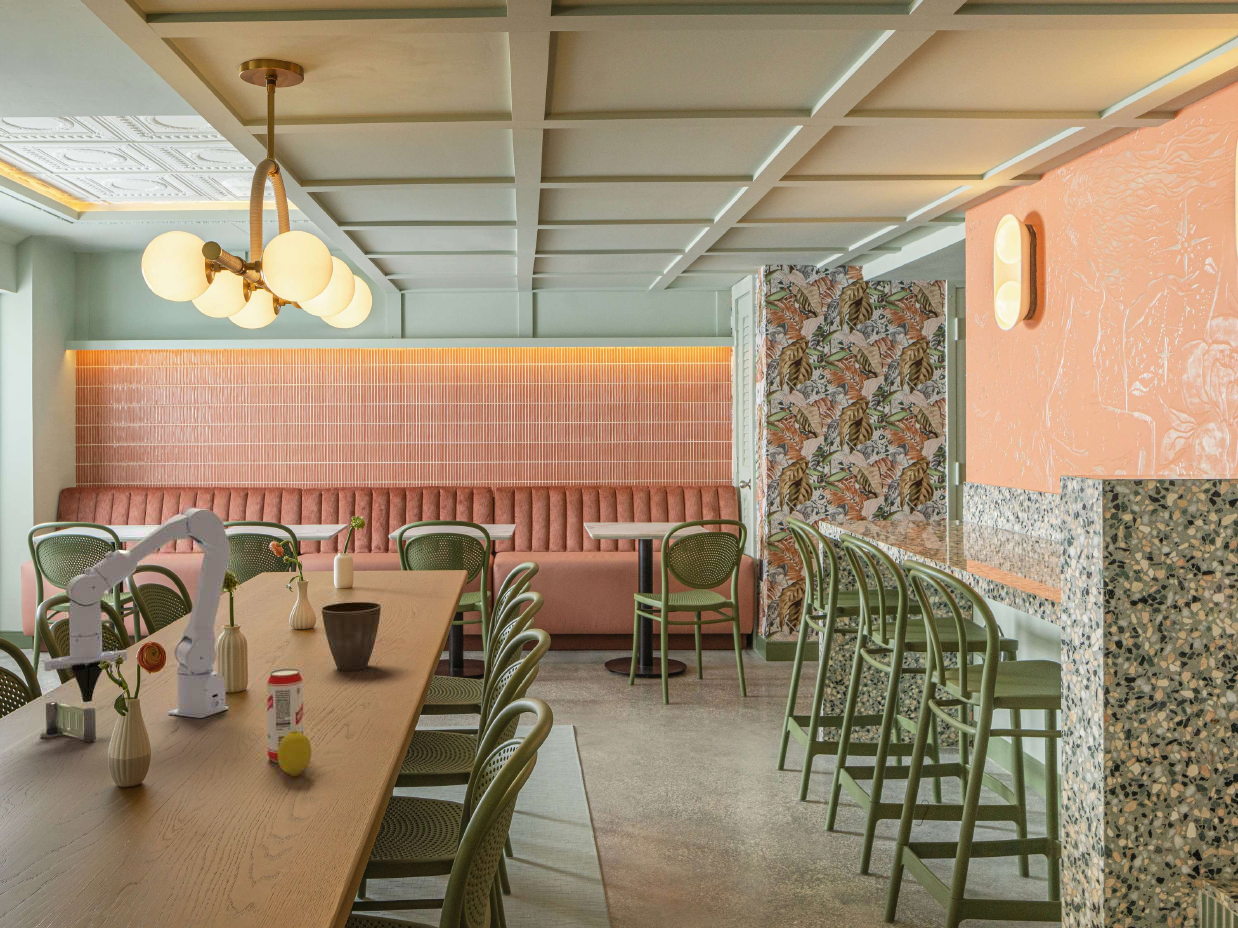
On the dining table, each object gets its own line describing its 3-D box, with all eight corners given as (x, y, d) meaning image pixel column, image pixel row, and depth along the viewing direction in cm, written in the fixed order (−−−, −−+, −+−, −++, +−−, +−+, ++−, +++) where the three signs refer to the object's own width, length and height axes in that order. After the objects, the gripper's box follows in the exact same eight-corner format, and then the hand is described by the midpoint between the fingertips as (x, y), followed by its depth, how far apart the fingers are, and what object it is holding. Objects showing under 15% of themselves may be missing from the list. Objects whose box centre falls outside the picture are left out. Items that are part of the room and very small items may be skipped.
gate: (97, 739, 186) (97, 708, 185) (87, 741, 184) (87, 711, 184) (63, 729, 192) (62, 700, 192) (53, 732, 190) (52, 702, 190)
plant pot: (372, 674, 239) (371, 611, 239) (313, 674, 239) (313, 611, 239) (388, 661, 254) (387, 601, 254) (332, 661, 254) (332, 601, 254)
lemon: (300, 768, 169) (299, 723, 169) (317, 775, 165) (317, 729, 165) (271, 776, 165) (271, 731, 165) (289, 783, 161) (288, 737, 161)
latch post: (68, 733, 190) (68, 701, 190) (49, 739, 186) (49, 706, 186) (54, 731, 192) (53, 699, 192) (35, 737, 188) (35, 704, 188)
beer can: (266, 765, 171) (265, 676, 170) (269, 754, 177) (268, 669, 176) (302, 762, 172) (302, 674, 172) (304, 751, 178) (303, 666, 178)
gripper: (47, 641, 185) (48, 711, 185) (129, 632, 194) (130, 698, 194) (42, 636, 190) (43, 703, 191) (122, 627, 199) (123, 691, 200)
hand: (87, 700), depth 193 cm, fingers closed
